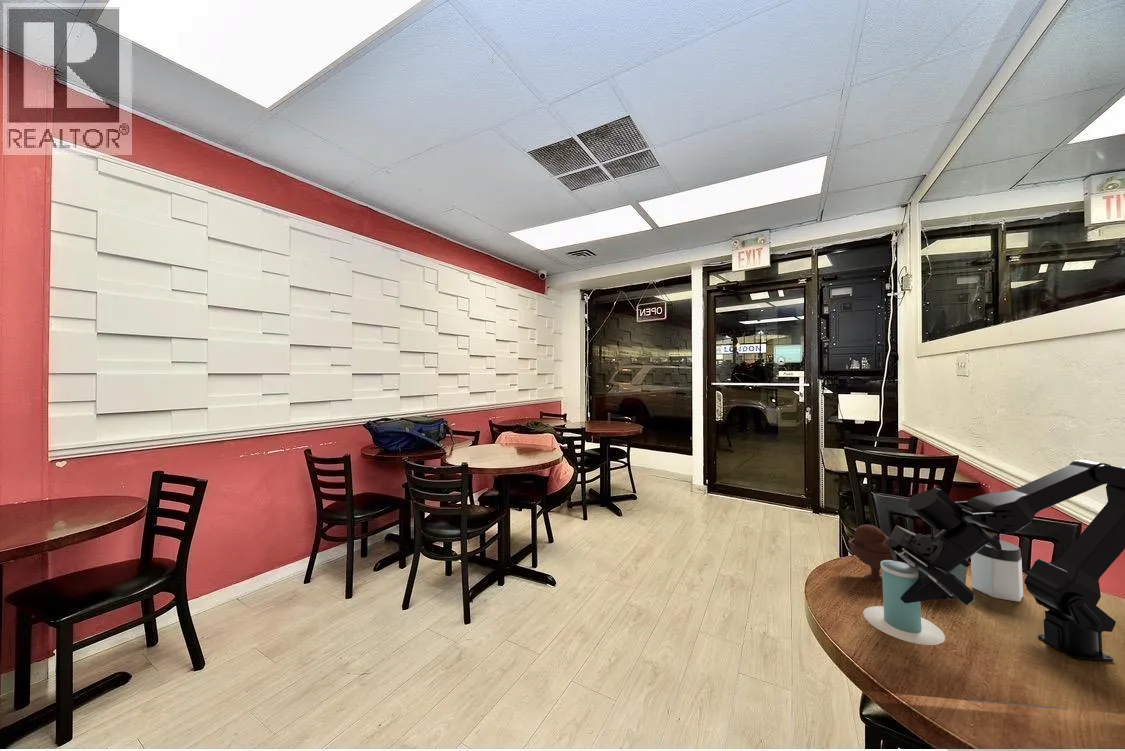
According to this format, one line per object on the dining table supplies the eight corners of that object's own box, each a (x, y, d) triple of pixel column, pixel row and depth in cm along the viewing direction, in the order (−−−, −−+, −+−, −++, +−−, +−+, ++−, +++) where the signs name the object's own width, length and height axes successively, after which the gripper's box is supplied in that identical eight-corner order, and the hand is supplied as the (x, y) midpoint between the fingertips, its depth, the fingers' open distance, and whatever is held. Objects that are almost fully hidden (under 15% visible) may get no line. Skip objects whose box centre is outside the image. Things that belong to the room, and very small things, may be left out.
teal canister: (907, 615, 84) (905, 560, 84) (931, 634, 77) (928, 575, 78) (875, 613, 85) (873, 559, 85) (896, 632, 78) (894, 573, 79)
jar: (1036, 601, 90) (1033, 550, 90) (1004, 603, 89) (1001, 552, 90) (991, 581, 99) (989, 535, 99) (961, 583, 98) (959, 536, 99)
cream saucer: (912, 612, 87) (912, 608, 87) (964, 652, 74) (964, 647, 74) (850, 608, 88) (850, 604, 89) (889, 647, 76) (889, 642, 76)
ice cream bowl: (906, 598, 92) (904, 536, 93) (849, 584, 99) (847, 526, 99) (901, 579, 101) (899, 522, 101) (849, 568, 107) (847, 514, 108)
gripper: (893, 502, 90) (841, 545, 92) (952, 533, 72) (886, 585, 74) (935, 538, 88) (881, 581, 90) (1006, 579, 69) (936, 632, 72)
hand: (893, 592), depth 82 cm, fingers closed on teal canister, 6 cm apart
